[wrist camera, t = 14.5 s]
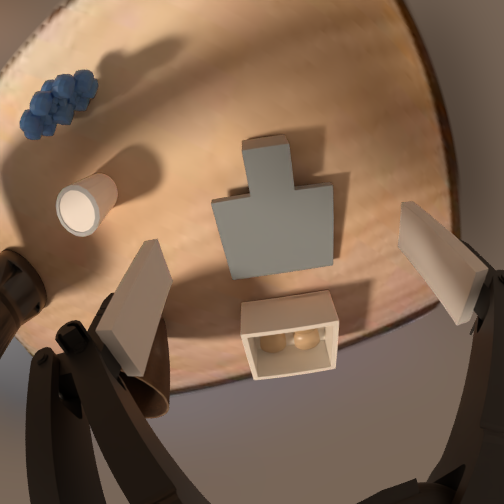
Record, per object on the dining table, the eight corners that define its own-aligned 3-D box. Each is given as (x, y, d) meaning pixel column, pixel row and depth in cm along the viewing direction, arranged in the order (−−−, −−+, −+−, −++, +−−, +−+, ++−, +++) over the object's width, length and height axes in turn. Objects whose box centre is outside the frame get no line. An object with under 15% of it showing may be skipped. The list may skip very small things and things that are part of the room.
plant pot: (123, 345, 51) (99, 411, 37) (96, 288, 43) (56, 357, 30) (192, 348, 51) (180, 422, 37) (174, 287, 43) (149, 370, 29)
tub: (253, 349, 51) (253, 380, 45) (241, 302, 45) (240, 334, 39) (327, 338, 50) (335, 368, 44) (328, 289, 44) (339, 320, 38)
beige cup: (73, 184, 34) (47, 202, 28) (105, 159, 32) (79, 174, 26) (97, 222, 37) (75, 245, 31) (130, 200, 36) (109, 222, 30)
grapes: (102, 51, 25) (47, 42, 14) (125, 88, 28) (72, 89, 17) (45, 106, 27) (-13, 120, 17) (65, 140, 30) (9, 164, 20)
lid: (233, 266, 43) (232, 284, 40) (202, 148, 32) (197, 159, 29) (328, 252, 42) (334, 269, 39) (323, 130, 31) (333, 138, 27)
